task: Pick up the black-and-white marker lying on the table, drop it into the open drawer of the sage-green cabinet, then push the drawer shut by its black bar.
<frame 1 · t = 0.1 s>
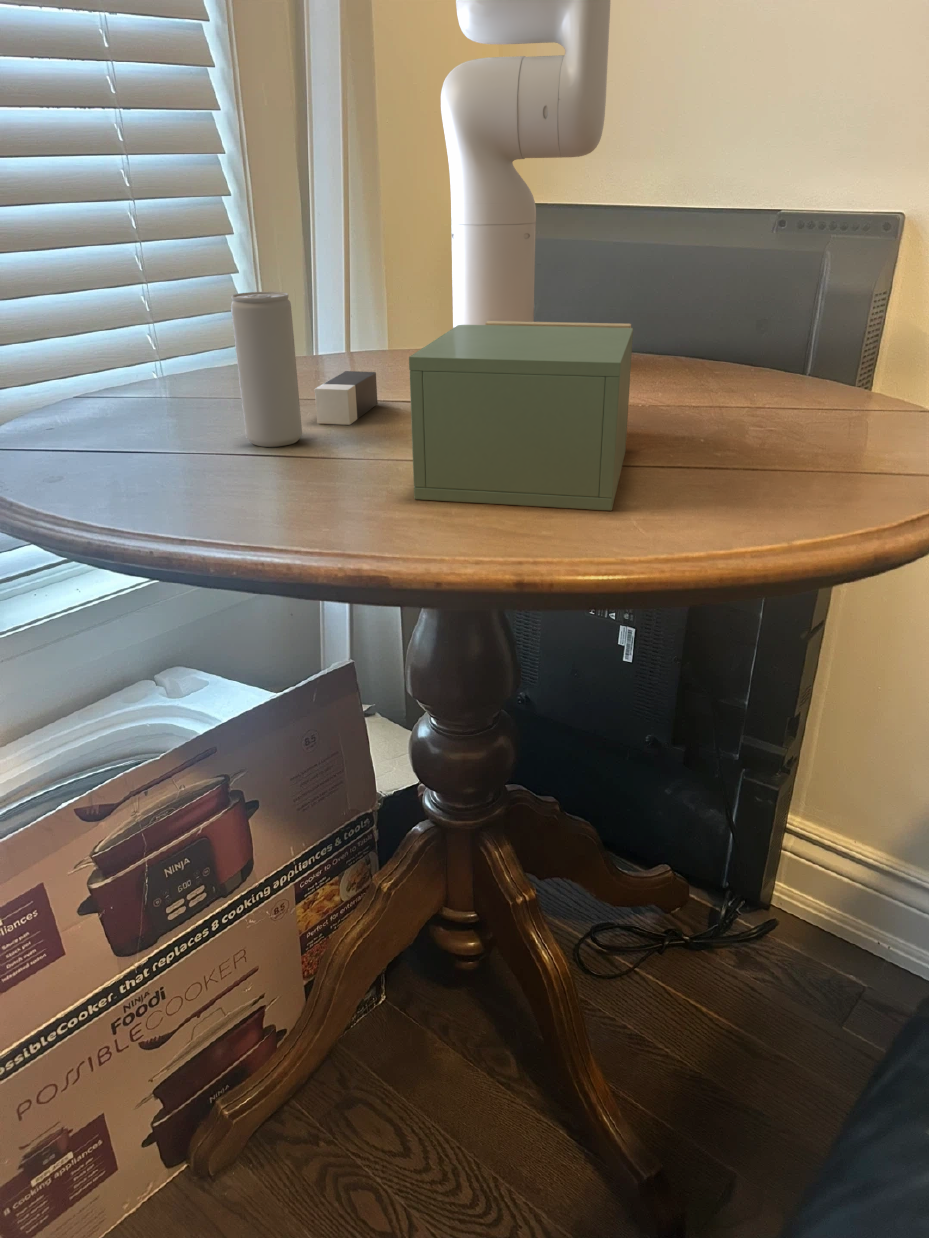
cabinet: (527, 474, 70), on the table
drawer: (550, 378, 79), point 5 cm above the table, slide at 8.0 cm
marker: (349, 413, 89), on the table
beverage can: (274, 443, 80), on the table
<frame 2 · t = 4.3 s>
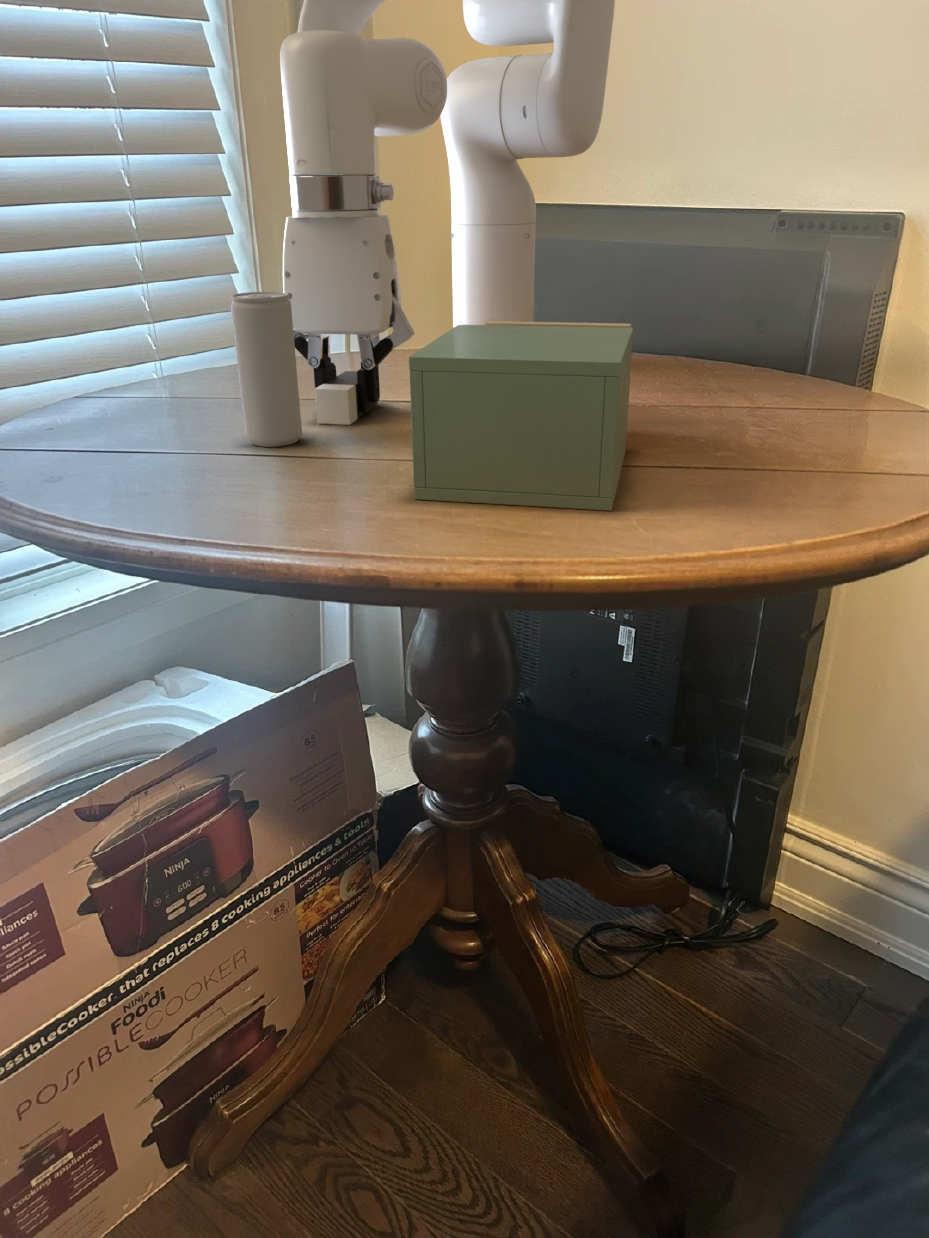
hand: (348, 406, 89), 1 cm above the table, tool pointing down, fingers closed on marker, 3 cm apart
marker: (349, 413, 89), on the table, touching gripper
everything else where it was.
when the fingers open (10 cm above the table, at t = 11.5 s): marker drops 7 cm, resting on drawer.
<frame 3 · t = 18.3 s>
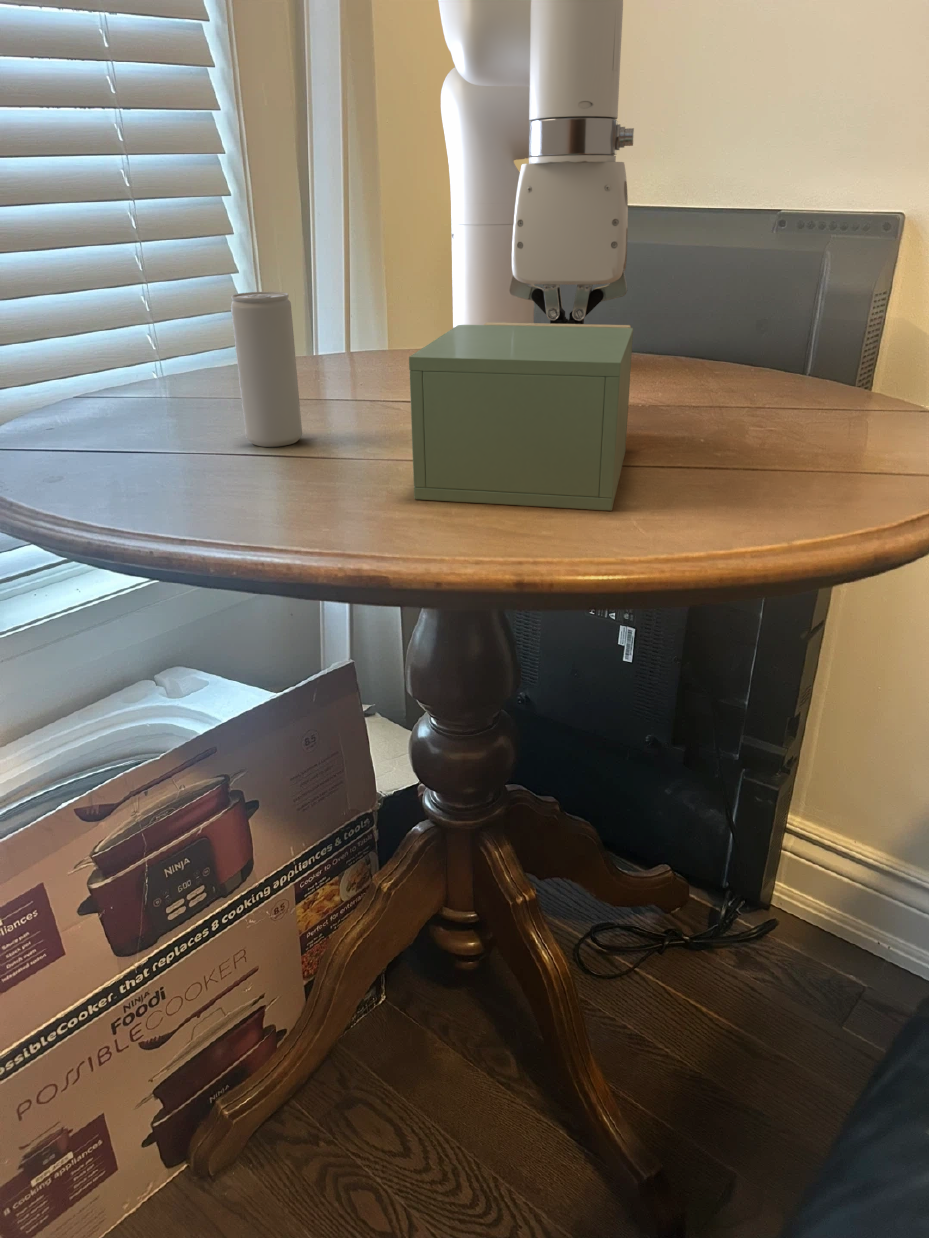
hand: (565, 362, 87), 4 cm above the table, tool pointing down, fingers closed
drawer: (549, 380, 78), point 5 cm above the table, slide at 7.1 cm, touching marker
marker: (545, 416, 78), point 2 cm above the table, touching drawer
everything else where it was.
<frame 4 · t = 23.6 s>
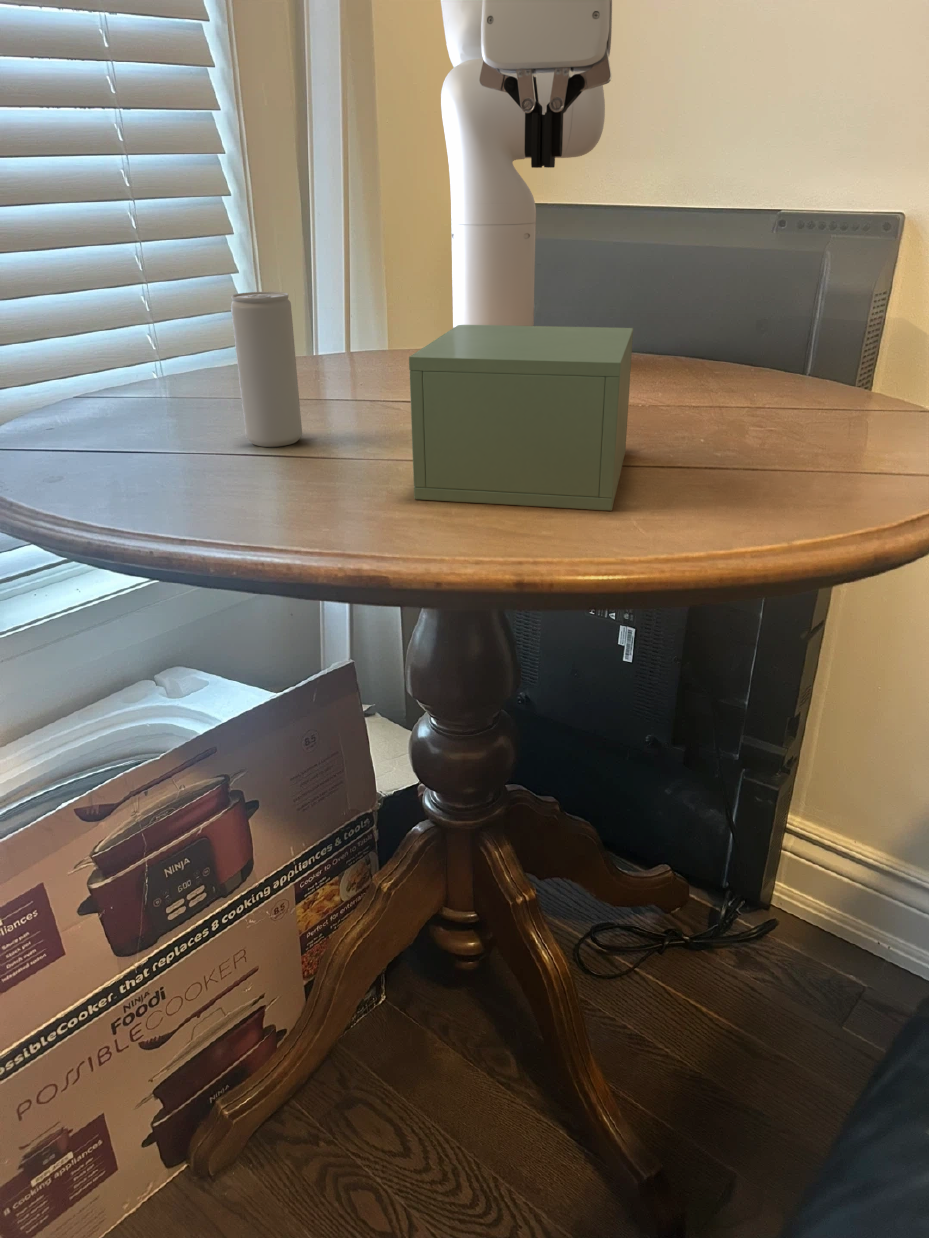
hand: (543, 167, 78), 21 cm above the table, tool pointing down, fingers closed
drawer: (536, 398, 72), point 5 cm above the table, slide at 0.0 cm, touching cabinet, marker
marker: (533, 437, 72), point 2 cm above the table, touching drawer
everything else where it was.
at the end: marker inside the target area in the cabinet (3.0 cm from its centre), point 2.1 cm above the cabinet's base; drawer slide at 0.0 cm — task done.
